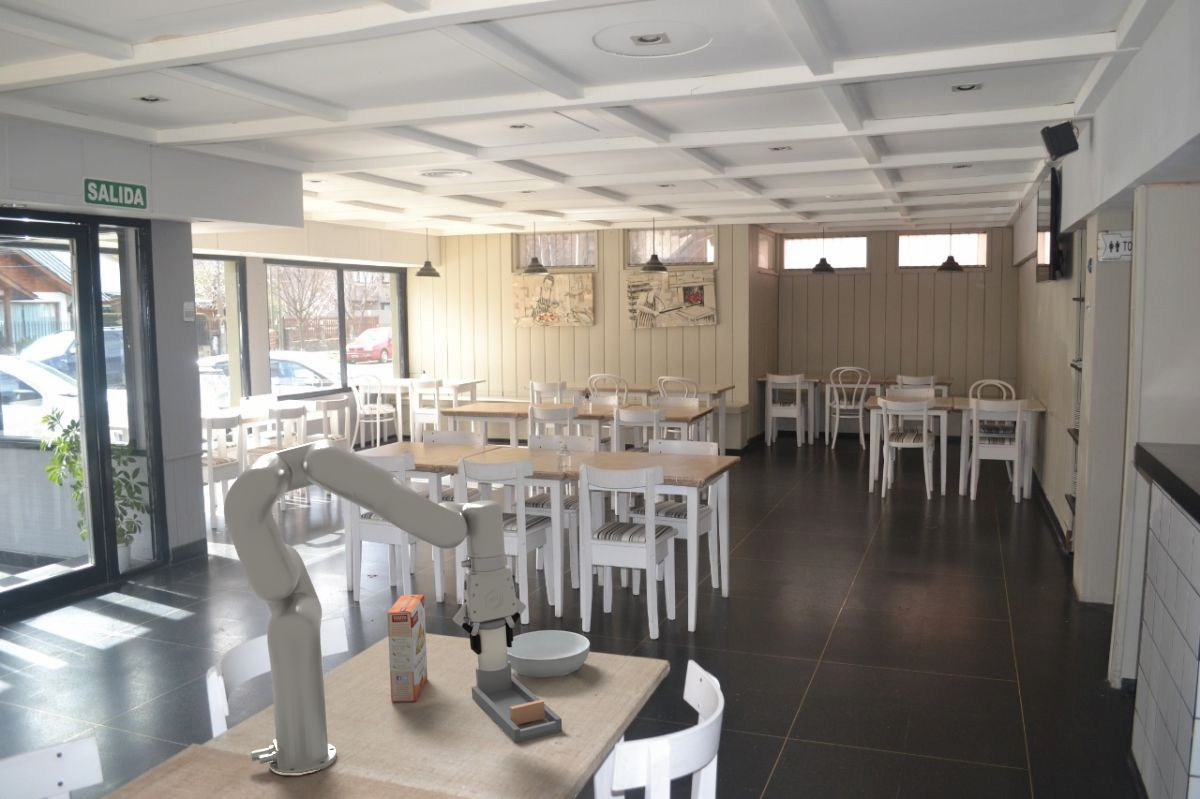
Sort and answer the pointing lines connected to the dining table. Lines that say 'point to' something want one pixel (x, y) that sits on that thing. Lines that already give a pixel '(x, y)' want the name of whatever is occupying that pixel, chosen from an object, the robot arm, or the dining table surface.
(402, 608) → the cracker box
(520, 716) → the pusher
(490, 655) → the jar
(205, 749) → the dining table surface
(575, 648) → the serving bowl
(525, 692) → the lane
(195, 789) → the dining table surface
